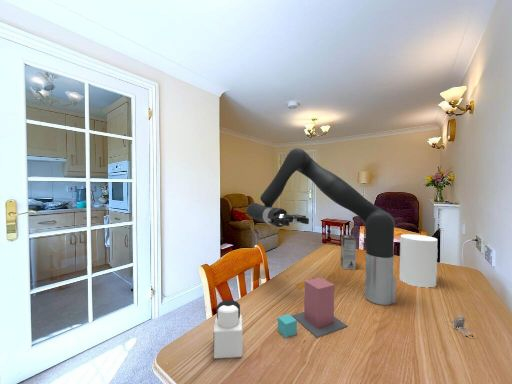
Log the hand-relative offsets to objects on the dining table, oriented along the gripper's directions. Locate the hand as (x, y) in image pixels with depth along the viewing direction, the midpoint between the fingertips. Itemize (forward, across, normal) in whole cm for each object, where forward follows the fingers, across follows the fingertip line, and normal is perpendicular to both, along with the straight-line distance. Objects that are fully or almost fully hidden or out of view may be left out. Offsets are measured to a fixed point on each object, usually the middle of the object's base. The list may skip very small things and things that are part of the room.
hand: (298, 222), depth 83 cm
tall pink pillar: (+11, 0, +30) cm, 32 cm away
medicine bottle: (+10, -30, +30) cm, 44 cm away
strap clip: (+33, +35, +31) cm, 57 cm away
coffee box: (-20, +48, +30) cm, 60 cm away
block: (+11, -12, +30) cm, 34 cm away
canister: (+7, +61, +30) cm, 68 cm away
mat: (+11, 0, +30) cm, 32 cm away
